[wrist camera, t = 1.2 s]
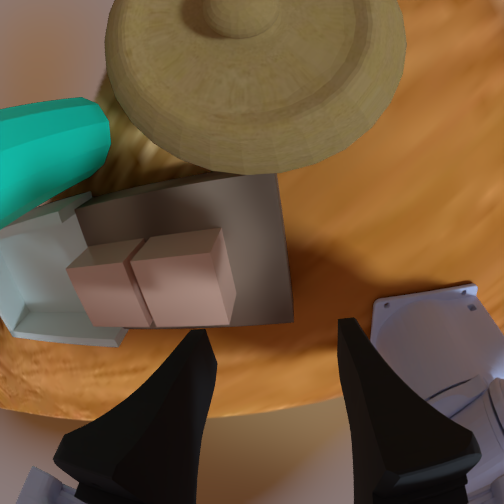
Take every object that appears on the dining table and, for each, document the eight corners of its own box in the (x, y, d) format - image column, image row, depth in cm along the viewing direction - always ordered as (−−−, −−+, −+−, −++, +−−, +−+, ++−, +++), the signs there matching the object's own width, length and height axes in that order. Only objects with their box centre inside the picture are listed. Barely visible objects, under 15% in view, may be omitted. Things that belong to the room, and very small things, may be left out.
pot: (248, -56, 11) (219, -152, 2) (400, 57, 13) (504, 33, 5) (128, 77, 16) (10, 78, 7) (272, 188, 18) (264, 279, 10)
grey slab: (274, 162, 17) (274, 171, 15) (293, 300, 22) (293, 322, 20) (92, 197, 19) (74, 209, 17) (134, 310, 24) (123, 328, 22)
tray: (90, 191, 19) (57, 211, 16) (137, 315, 24) (118, 347, 21) (-10, 223, 22) (-36, 241, 18) (32, 314, 26) (12, 336, 23)
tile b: (143, 238, 18) (122, 262, 15) (164, 298, 20) (149, 327, 17) (89, 246, 19) (65, 268, 16) (111, 300, 21) (93, 326, 18)
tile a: (221, 227, 17) (210, 252, 14) (236, 293, 19) (229, 324, 16) (150, 237, 18) (129, 261, 15) (171, 297, 20) (156, 326, 17)
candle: (123, 161, 18) (-16, 243, 8) (63, 189, 19) (-56, 270, 9) (96, 82, 16) (-58, 100, 5) (39, 120, 17) (-92, 166, 6)
